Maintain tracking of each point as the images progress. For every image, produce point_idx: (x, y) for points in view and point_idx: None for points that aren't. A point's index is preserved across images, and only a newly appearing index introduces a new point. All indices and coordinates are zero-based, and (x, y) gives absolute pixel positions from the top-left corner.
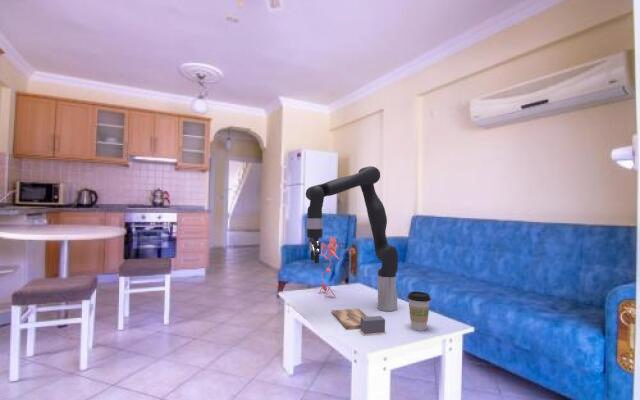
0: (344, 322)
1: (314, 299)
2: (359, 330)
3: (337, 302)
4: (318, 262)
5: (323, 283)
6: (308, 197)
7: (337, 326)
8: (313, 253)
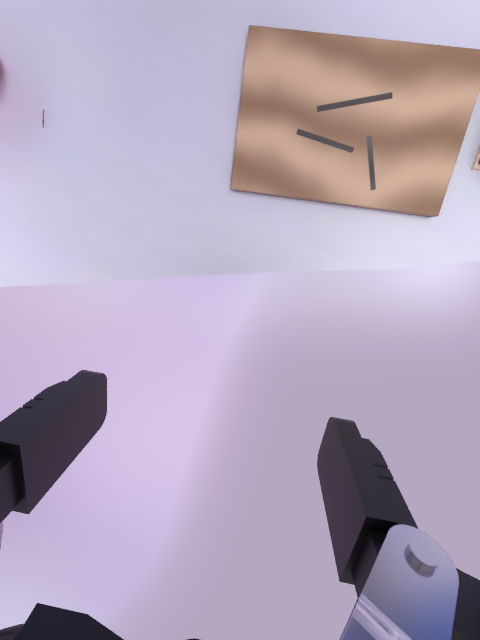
0: (396, 204)
1: (23, 188)
2: (474, 168)
3: (85, 85)
4: (350, 427)
5: None
6: None
7: (381, 235)
8: (34, 459)
